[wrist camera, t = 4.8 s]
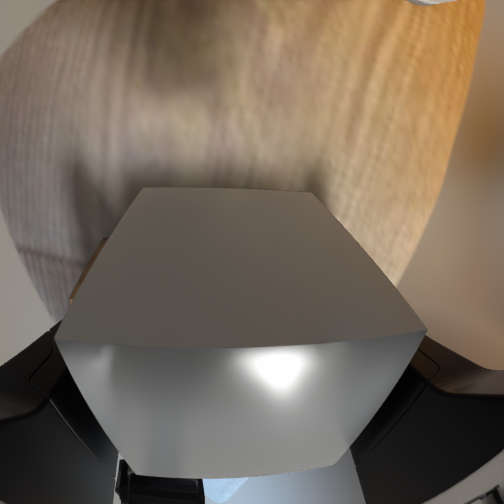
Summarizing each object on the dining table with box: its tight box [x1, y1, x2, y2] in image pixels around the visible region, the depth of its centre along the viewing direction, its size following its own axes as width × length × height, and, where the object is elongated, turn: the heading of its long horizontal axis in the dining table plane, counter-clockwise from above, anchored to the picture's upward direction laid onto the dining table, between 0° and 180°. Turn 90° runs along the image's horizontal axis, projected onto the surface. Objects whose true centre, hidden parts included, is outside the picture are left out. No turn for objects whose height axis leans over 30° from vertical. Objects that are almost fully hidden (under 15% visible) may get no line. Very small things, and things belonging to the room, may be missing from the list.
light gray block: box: [54, 187, 428, 479], centre depth 7 cm, size 5×5×6 cm
